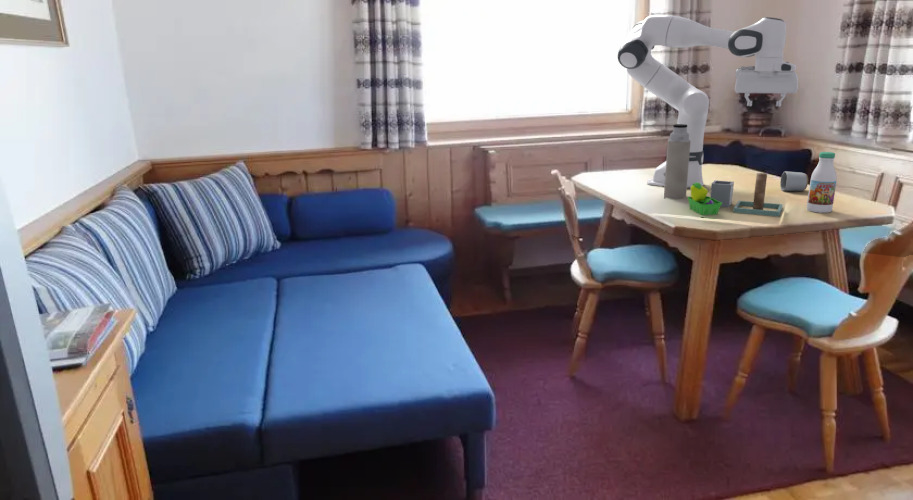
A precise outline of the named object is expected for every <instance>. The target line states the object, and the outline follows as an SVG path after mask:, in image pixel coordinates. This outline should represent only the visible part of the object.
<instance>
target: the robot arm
mask: <svg viewBox="0 0 913 500" xmlns="http://www.w3.org/2000/svg"><path fill="white" fill-rule="evenodd" d="M786 40H787V23H786V22H785V21H784V20H783V19H782V18H778V17H769V16H765V17H762V18H761V19H760V20H759V21H756V22H755V23H753V24H751V25H748V26H745V27H743V28H739V29H737V30H727V29H720V28H714V27H711V26H707V25H704V24H702V23H701V22H700V23H699V22H697V21H695V20H692V19H691V18H687V17H683V16H679V15H671V14H652V15H648V16H647V17H646V18H645V19H644V20H640V21H639V22H636V23H635V25H634V26H633V27H631V30H630V31H629V32H628V34H627V35H626V37H625V38H624V41H623V42H622V44H621V46H620V47H619V50H618V51H617V52H618V53H617V60H618V63H619V64H620V65H621V66H622V67H623V68H625V69H626V71H627V73H628V75H629V76H630V77H631V78H632V79H633V80H634V81H636V82H637V83H638V84H639V85H640V86H642V87H643V88H644V89H646V90H647V91H649V92H650V93H651V94H654V95H655V96H656V97H658V99H660V100H662V101H663V102H665V103H666V104H667V105H669V106H671V107H672V108H674V109H675V110H677V111H678V114H677V115H678V117H677V122H676V124H685V125H687V133H688V134H689V140H691V141H690V154H689V166H688V178H687V189H688V188H691V186H692V185H693V183H694V184H695V183H700V184H701V186H703V187H704V178H703V162H704V154H705V153H704V150H703V148H704V138H705V137H704V136H705V128H706V125H707V119H708V112H709V106H710V99H709V96H708V95H707V93H706V92H704V91H703V90H700V89H699V88H698V87H697V88H696V87H695V86H694V85H692V84H691V83H689V82H688V81H687V80H685V78H683V77H681V76H680V75H679V74H677V73H676V72H674V71H673V70H672V69H670V68H669V67H667V65H664V64H663V63H661V62H660V61H659V60H657V59H655V57H653V55H652V50H654V49H655V46H663V47H668V48H678V49H679V48H681V49H682V48H692V47H700V46H701V47H702V46H709V47H715V48H722V49H728V50H729V51H730V53H731V54H732V55H734V56H736V57H739V58H740V57H741V58H743V57H745V58H750V57H751V58H752V57H754V56H755V60H754V61H755V62H754V65H753V66H750V65H749V66H740V67H739V68H737V69H736V71H735V78H736V81H735V86H734V92H735V93H736V94H744V98H745V100H746V102H747V103H746V107H752V106H753V100H751V99H750V98H749V96H751V95H750V94H780V97H781V98H780V99H779V100H776V104H775V107H777V108H778V107H781V106H782V102H783V100H784V99H785V98H786V95H787V94H796V93H797V92H798V91H799V75H798V73H797V72H796V70H797V65H796V64H794V63H791V62H789V61H785V60H784V56H785V55H784V48H785V45H786ZM665 173H666V160H665V161H664V162H662V163H660V165H657V166H656V168H655V170H654V171H653V174H652V177H651V178H648V179H647V182H646V183H647V185H651V186H659V187H665Z"/></svg>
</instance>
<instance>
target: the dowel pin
mask: <svg viewBox="0 0 913 500" xmlns="http://www.w3.org/2000/svg"><path fill="white" fill-rule="evenodd" d="M767 178H768V173H766V172H765V173H764V172H758V173H756V176H755V184H754V194H753V195H754V196H753V201H752V202H753V207H752V209H758V210H764V208H763V205H764V203H765V196H766V186H767V181H768V180H767Z"/></svg>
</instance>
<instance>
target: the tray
mask: <svg viewBox="0 0 913 500" xmlns="http://www.w3.org/2000/svg"><path fill="white" fill-rule="evenodd" d="M753 202H754V201H746V200H738V201H737V202H736V204H735V205H734V206H733V211H732V213H734V214H735V213H737V214H748V215H758V216H769V217H780V215H781V213H782V209H783V206H784V204H783V203H772V202H764V205H763V210H758V209H753ZM741 206H742V207H741ZM745 207H746V208H745ZM747 207H752V208H747ZM764 208H766V209H767V210H766V209H764ZM769 209H775V210H769ZM776 209H777V210H776Z"/></svg>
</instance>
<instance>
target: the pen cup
mask: <svg viewBox="0 0 913 500" xmlns="http://www.w3.org/2000/svg"><path fill="white" fill-rule="evenodd" d="M734 184H735V181H730V180H729V181H728V180H716V179H715V180H713V182H712V183H711V186H710V195H709V197H711V198H713V199H715V200H717V201H719V202H721V203H722V205H721V206H720V208H730V207H731V206H732V203H733V195H734V186H735V185H734Z"/></svg>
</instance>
